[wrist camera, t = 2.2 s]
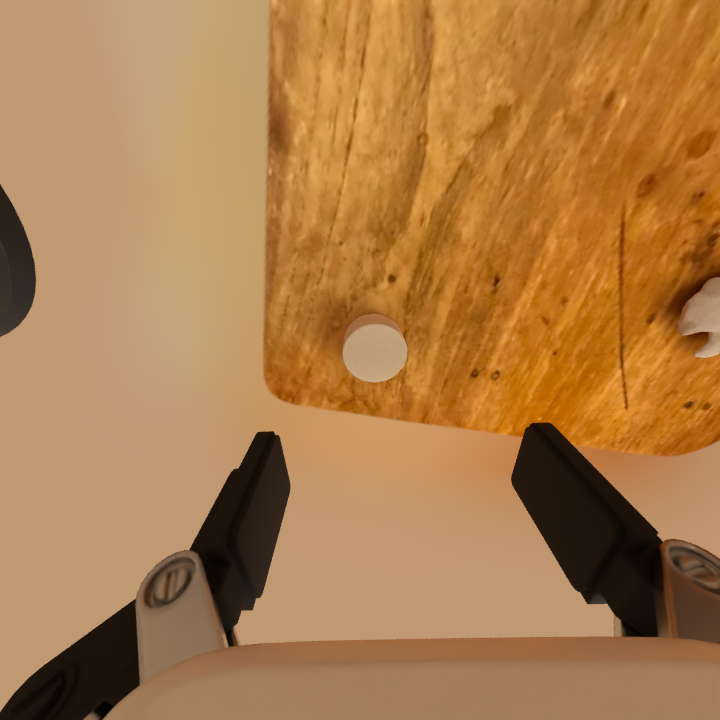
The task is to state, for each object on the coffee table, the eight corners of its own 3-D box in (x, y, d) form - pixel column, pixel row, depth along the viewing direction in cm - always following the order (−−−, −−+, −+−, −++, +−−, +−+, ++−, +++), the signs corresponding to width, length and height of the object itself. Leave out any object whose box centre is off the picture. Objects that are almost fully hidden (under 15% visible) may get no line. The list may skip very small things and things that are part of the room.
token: (334, 352, 20) (331, 367, 18) (360, 302, 19) (360, 312, 17) (383, 375, 21) (386, 391, 19) (412, 329, 20) (420, 341, 18)
